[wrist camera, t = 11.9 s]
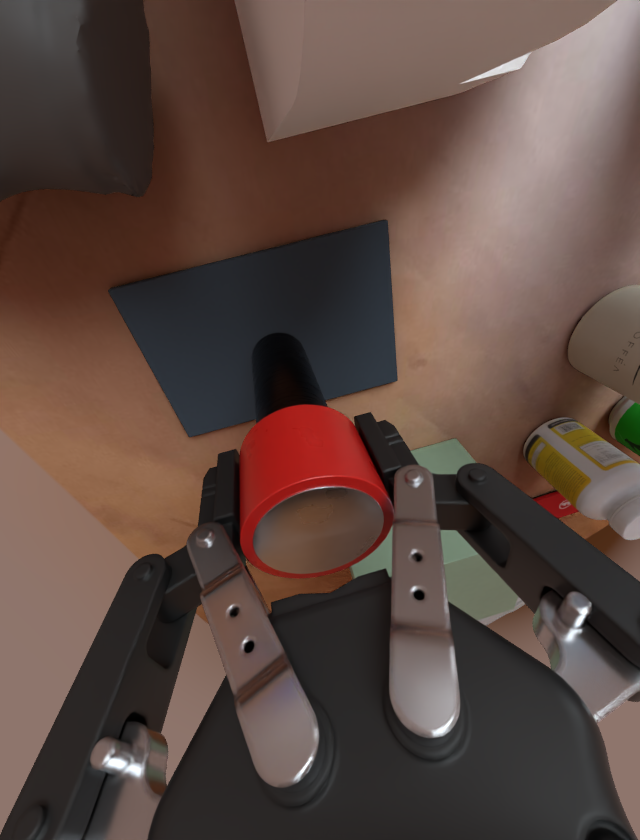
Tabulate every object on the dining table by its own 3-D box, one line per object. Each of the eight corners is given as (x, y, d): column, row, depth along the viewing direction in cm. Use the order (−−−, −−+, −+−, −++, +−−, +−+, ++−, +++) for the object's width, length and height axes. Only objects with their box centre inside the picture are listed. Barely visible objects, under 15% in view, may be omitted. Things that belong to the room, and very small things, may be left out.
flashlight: (308, 310, 21) (390, 457, 10) (323, 381, 24) (398, 555, 13) (227, 331, 21) (214, 507, 10) (252, 400, 24) (266, 594, 13)
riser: (455, 437, 35) (539, 535, 25) (450, 510, 42) (514, 609, 32) (324, 474, 34) (357, 590, 24) (342, 542, 41) (373, 652, 32)
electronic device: (487, 537, 47) (589, 504, 47) (490, 540, 46) (593, 507, 47) (490, 511, 43) (600, 476, 44) (493, 515, 43) (604, 479, 43)
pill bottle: (522, 469, 40) (609, 556, 30) (516, 432, 36) (613, 520, 27) (576, 443, 39) (682, 525, 30) (575, 403, 35) (696, 483, 26)
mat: (384, 219, 22) (388, 220, 22) (395, 377, 29) (397, 381, 29) (109, 287, 21) (107, 290, 21) (189, 433, 28) (188, 437, 28)
